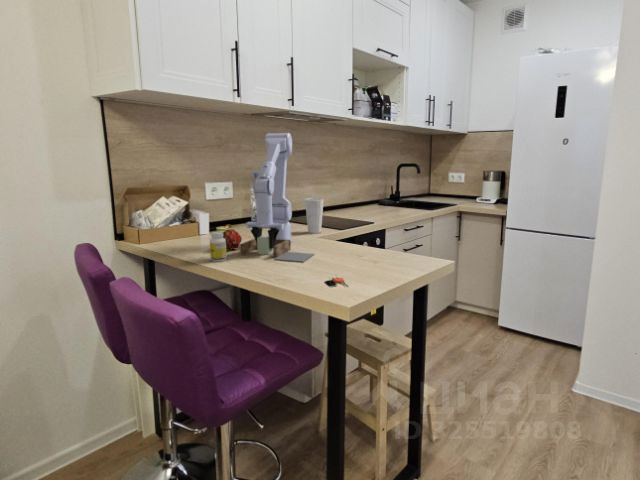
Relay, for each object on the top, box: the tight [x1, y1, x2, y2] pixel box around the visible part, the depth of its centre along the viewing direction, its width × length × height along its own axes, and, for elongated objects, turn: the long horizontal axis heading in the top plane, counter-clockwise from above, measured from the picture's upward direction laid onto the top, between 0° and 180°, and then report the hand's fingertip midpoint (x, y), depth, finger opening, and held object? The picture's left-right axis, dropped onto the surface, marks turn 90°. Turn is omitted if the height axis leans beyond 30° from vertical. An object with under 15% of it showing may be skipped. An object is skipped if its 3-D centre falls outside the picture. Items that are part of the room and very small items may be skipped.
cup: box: [304, 197, 324, 234], centre depth 191 cm, size 8×8×16 cm
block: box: [257, 234, 274, 255], centre depth 154 cm, size 4×4×6 cm
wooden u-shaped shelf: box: [239, 237, 292, 259], centre depth 155 cm, size 13×14×4 cm
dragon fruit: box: [222, 228, 243, 251], centre depth 160 cm, size 8×8×12 cm
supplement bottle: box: [209, 230, 228, 263], centre depth 144 cm, size 5×5×10 cm
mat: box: [273, 251, 315, 263], centre depth 147 cm, size 11×11×1 cm
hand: (265, 247), depth 154 cm, fingers closed on block, 4 cm apart
